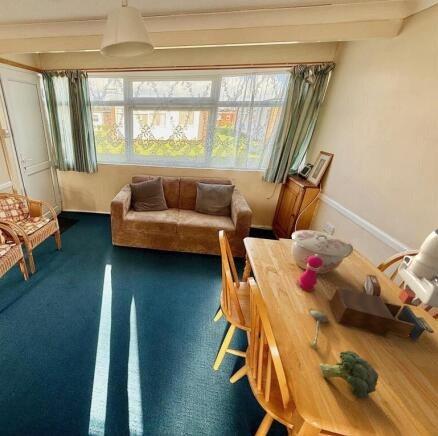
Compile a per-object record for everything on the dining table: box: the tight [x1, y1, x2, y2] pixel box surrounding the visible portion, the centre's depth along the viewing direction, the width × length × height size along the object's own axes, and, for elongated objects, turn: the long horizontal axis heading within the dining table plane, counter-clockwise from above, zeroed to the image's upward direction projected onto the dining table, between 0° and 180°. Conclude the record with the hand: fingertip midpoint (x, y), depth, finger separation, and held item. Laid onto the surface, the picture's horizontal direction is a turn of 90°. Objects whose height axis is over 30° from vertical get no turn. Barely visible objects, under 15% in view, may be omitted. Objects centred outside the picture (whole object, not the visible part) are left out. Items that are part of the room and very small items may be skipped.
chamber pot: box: [290, 229, 354, 274], centre depth 130 cm, size 28×28×21 cm
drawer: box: [383, 300, 435, 343], centre depth 94 cm, size 19×12×7 cm, turn 66°
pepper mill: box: [298, 254, 323, 291], centre depth 115 cm, size 7×7×20 cm
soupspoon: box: [310, 309, 329, 349], centre depth 95 cm, size 22×3×7 cm
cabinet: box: [330, 286, 395, 337], centre depth 99 cm, size 16×14×9 cm
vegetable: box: [318, 350, 379, 399], centre depth 75 cm, size 12×13×15 cm
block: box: [398, 288, 420, 307], centre depth 88 cm, size 4×4×4 cm
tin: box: [363, 274, 382, 297], centre depth 112 cm, size 15×3×8 cm, turn 148°
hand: (409, 298), depth 89 cm, fingers closed on block, 4 cm apart
